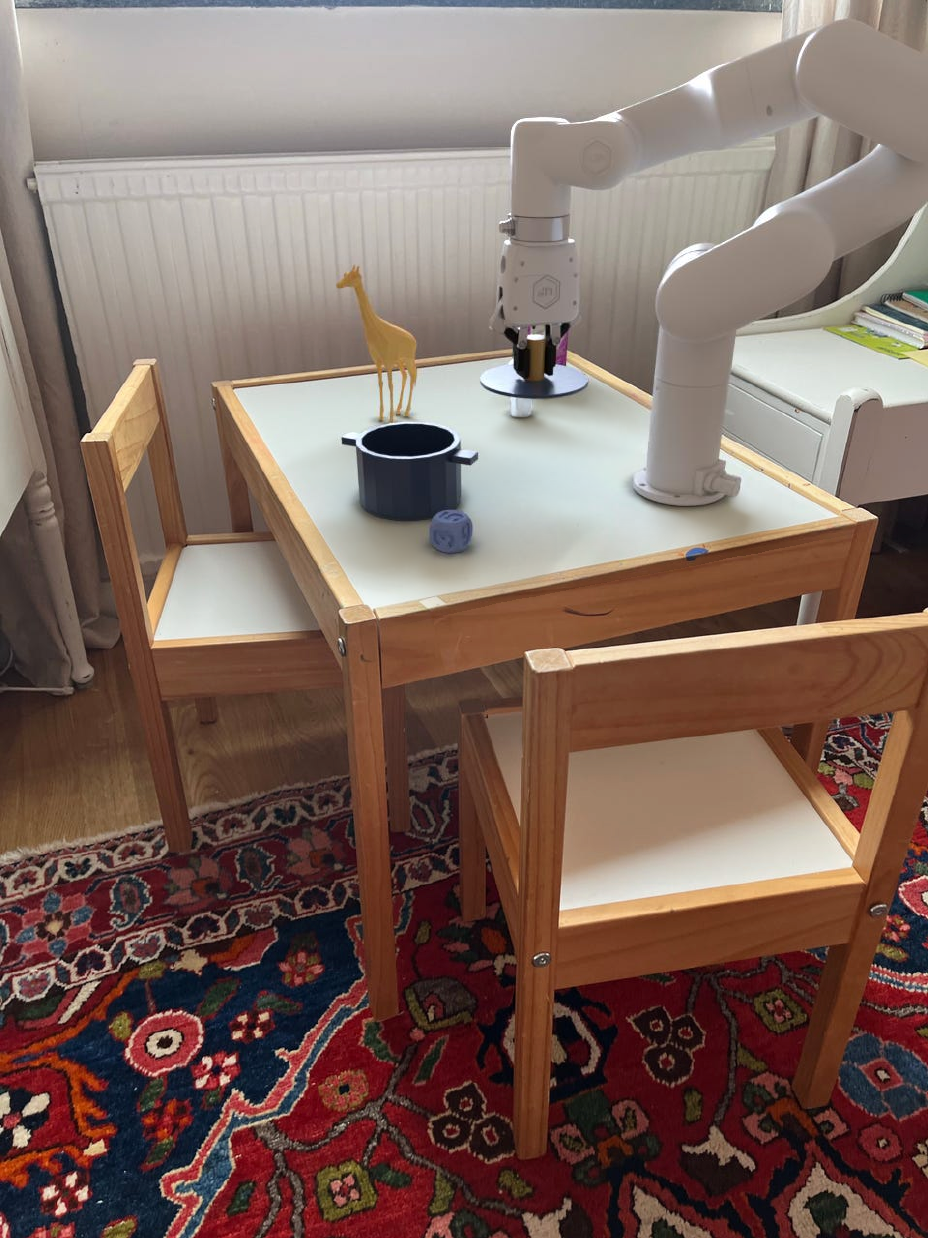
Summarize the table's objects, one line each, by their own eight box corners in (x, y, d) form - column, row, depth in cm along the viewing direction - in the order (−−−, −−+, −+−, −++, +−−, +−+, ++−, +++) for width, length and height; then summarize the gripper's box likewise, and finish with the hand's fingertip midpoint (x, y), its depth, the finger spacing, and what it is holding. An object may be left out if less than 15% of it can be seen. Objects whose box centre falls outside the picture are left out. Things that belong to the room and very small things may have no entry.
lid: (566, 409, 123) (568, 357, 119) (462, 394, 128) (461, 344, 125) (601, 377, 134) (605, 329, 131) (505, 365, 140) (505, 318, 136)
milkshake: (537, 419, 157) (539, 358, 152) (504, 418, 158) (505, 357, 153) (540, 410, 161) (542, 350, 156) (509, 409, 162) (509, 349, 157)
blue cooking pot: (452, 531, 122) (451, 468, 117) (323, 506, 129) (318, 446, 124) (495, 492, 132) (495, 432, 128) (374, 470, 139) (370, 413, 135)
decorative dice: (444, 536, 121) (443, 507, 119) (473, 542, 119) (472, 512, 117) (429, 549, 118) (428, 519, 115) (458, 556, 116) (458, 525, 114)
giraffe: (359, 438, 151) (347, 271, 138) (339, 432, 153) (325, 267, 140) (427, 410, 161) (423, 253, 149) (408, 405, 164) (401, 250, 151)
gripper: (489, 238, 115) (488, 389, 125) (611, 229, 120) (601, 375, 130) (467, 228, 122) (467, 373, 131) (584, 220, 126) (576, 360, 136)
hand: (534, 373), depth 130 cm, fingers closed on lid, 2 cm apart
